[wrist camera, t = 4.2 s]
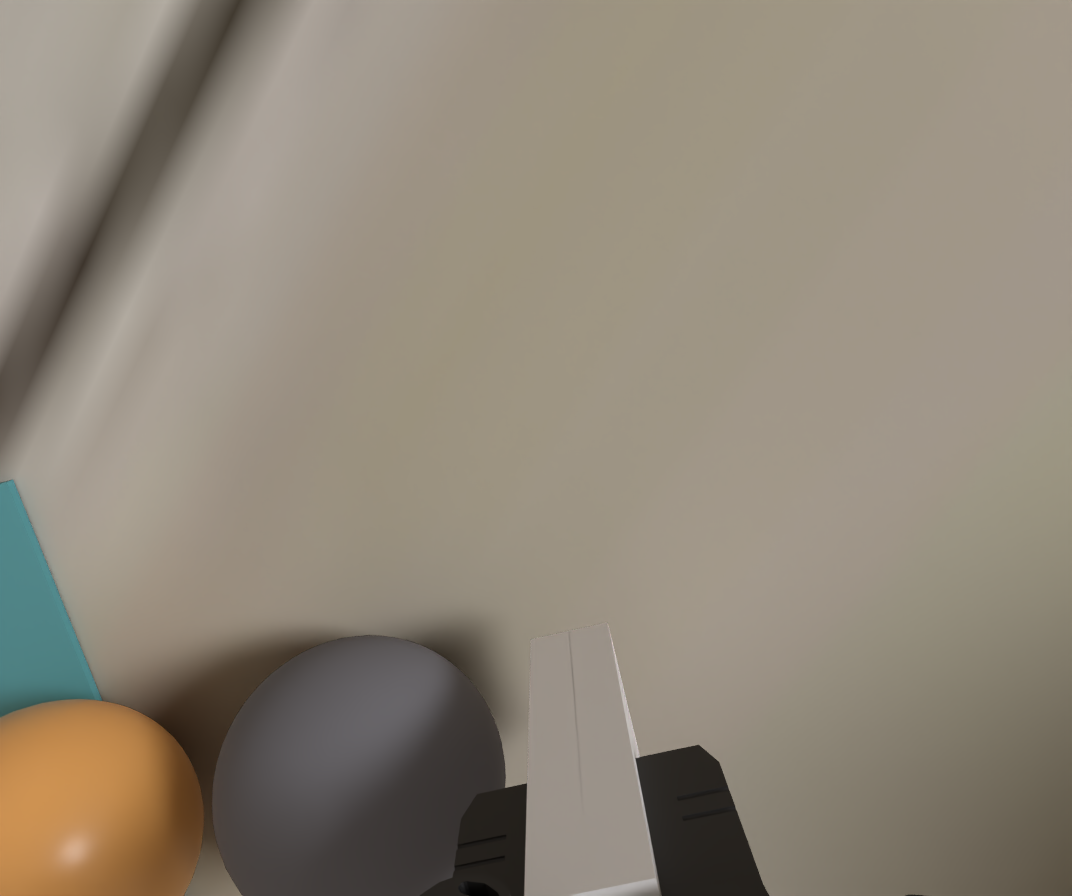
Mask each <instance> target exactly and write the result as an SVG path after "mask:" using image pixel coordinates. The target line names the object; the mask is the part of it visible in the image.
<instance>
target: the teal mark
mask: <svg viewBox="0 0 1072 896" xmlns="http://www.w3.org/2000/svg"><path fill="white" fill-rule="evenodd" d="M67 699H89V700H99V701H102V699H101V696H100V694H99V691H98V689H97V687H96V684H95V682H94V679H93V677H92V674H91V672H90V669H89V667H88V664H87V662H86V659H85V657H84V654H83V652H82V649H81V647H80V644H79V642H78V640H77V637H76V635H75V632H74V630H73V627H72V625H71V622H70V620H69V617H68V615H67V612H66V610H65V607H64V605H63V602H62V600H61V597H60V595H59V593H58V590H57V588H56V585H55V583H54V580H53V578H52V575H51V573H50V570H49V568H48V565H47V563H46V560H45V558H44V555H43V553H42V550H41V548H40V546H39V543H38V541H37V538H36V536H35V533H34V531H33V528H32V526H31V523H30V521H29V518H28V516H27V513H26V511H25V508H24V506H23V503H22V501H21V498H20V496H19V494H18V491H17V489H16V486H15V484H14V481H13V480H10V481H6V482H2V483H0V717H2V716H5V715H7V714H9V713H11V712H13V711H17V710H20V709H23V708H26V707H30V706H33V705H37V704H40V703H45V702H51V701H57V700H67Z"/></svg>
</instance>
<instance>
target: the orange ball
mask: <svg viewBox="0 0 1072 896" xmlns="http://www.w3.org/2000/svg"><path fill="white" fill-rule="evenodd" d="M203 829H204V809H203V800H202V793H201V788H200V785H199V782H198V778H197V775H196V773H195V770H194V768H193V766H192V764H191V762H190V760H189V758H188V756H187V755H186V753H185V751H184V750H183V748H182V747H181V746H180V744H179V743H178V742H177V741H176V740H175V738H174V737H173V736H172V735H171V734H170V733H169V732H168V731H166V730H165V729H164V728H163V727H162V726H160V725H159V724H158V723H156V722H155V721H154V720H152V719H150V718H149V717H147V716H145V715H144V714H142V713H140V712H138V711H135V710H133V709H131V708H128V707H125V706H122V705H119V704H115V703H110V702H105V701H99V700H89V699H67V700H57V701H51V702H45V703H40V704H37V705H33V706H30V707H26V708H23V709H20V710H17V711H13V712H11V713H9V714H7V715H5V716H2V717H0V896H184V894H185V892H186V890H187V888H188V886H189V884H190V882H191V880H192V878H193V874H194V871H195V868H196V865H197V861H198V858H199V855H200V851H201V845H202V837H203Z"/></svg>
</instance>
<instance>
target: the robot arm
mask: <svg viewBox="0 0 1072 896" xmlns="http://www.w3.org/2000/svg"><path fill="white" fill-rule="evenodd" d="M457 846H458V849H457V850H456V857H455V864H454V867H455V871H453V877H452V878H449V879H447V880H444V881H441V882H439V883H437V884H436V885H434V886H433V887H431V888H430V889H428V890H427V891H425V892H424V893H422V894H421V895H420V896H769V894H768V893H767V891H766V889H765V887H764V885H763V883H762V880H761V877H760V875H759V872H758V869H757V866H756V863H755V861H754V858H753V855H752V852H751V849H750V847H749V844H748V841H747V838H746V836H745V833H744V830H743V827H742V824H741V822H740V819H739V816H738V813H737V810H736V809H735V805H734V802H733V799H732V796H731V794H730V791H729V789H728V785H727V783H726V780H725V777H724V774H723V771H722V769H721V766H720V763H719V762H718V761H717V760H716V759H715V758H714V757H712V756H711V755H710V754H709V753H708V752H707V751H705V750H704V749H703V748H702V747H701V746H699V745H695V746H691V747H686V748H681V749H676V750H672V751H667V752H662V753H657V754H653V755H648V756H643V757H640V756H639V751H638V746H637V742H636V738H635V734H634V730H633V725H632V721H631V717H630V713H629V709H628V705H627V700H626V696H625V692H624V688H623V684H622V680H621V675H620V671H619V667H618V663H617V659H616V655H615V650H614V646H613V642H612V638H611V634H610V630H609V625H608V622H606V623H602V624H597V625H593V626H588V627H584V628H579V629H574V630H570V631H565V632H561V633H556V634H552V635H547V636H543V637H538V638H534V639H531V652H530V691H529V730H528V769H527V784H522V785H517V786H513V787H508V788H503V789H499V790H494V791H489V792H484V793H480V794H477V795H476V796H475V798H474V799H473V801H472V802H471V804H470V806H469V807H468V809H467V810H466V812H465V813H464V815H463V816H462V818H461V822H460V829H459V836H458V843H457ZM906 896H922V895H906Z"/></svg>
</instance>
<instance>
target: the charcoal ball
mask: <svg viewBox="0 0 1072 896" xmlns="http://www.w3.org/2000/svg"><path fill="white" fill-rule="evenodd" d="M505 779H506V775H505V761H504V755H503V749H502V743H501V739H500V735H499V731H498V729H497V726H496V724H495V721H494V719H493V716H492V714H491V712H490V709H489V707H488V706H487V704H486V702H485V700H484V699H483V697H482V696H481V694H480V693H479V691H478V690H477V689H476V687H475V686H474V685H473V684H472V682H471V681H470V680H469V678H468V677H466V676H465V675H464V674H463V673H462V672H461V671H460V670H459V669H458V668H457V667H456V666H454V665H453V664H452V663H451V662H450V661H448V660H447V659H445V658H444V657H442V656H440V655H439V654H437V653H435V652H434V651H432V650H430V649H428V648H426V647H424V646H421V645H419V644H416V643H413V642H410V641H407V640H403V639H399V638H394V637H387V636H372V635H366V636H355V637H347V638H341V639H337V640H334V641H330V642H327V643H324V644H321V645H318V646H316V647H313V648H311V649H309V650H306V651H304V652H302V653H301V654H299V655H297V656H296V657H294V658H292V659H291V660H289V661H288V662H286V663H285V664H283V665H282V666H281V667H279V668H278V669H277V670H275V671H274V672H273V673H272V674H270V675H269V676H268V677H267V678H266V679H265V680H264V681H263V682H262V683H261V684H260V685H259V686H258V687H257V688H256V689H255V691H254V692H253V693H252V694H251V695H250V697H249V698H248V699H247V700H246V702H245V703H244V705H243V706H242V708H241V709H240V711H239V712H238V714H237V715H236V717H235V719H234V721H233V723H232V725H231V726H230V728H229V730H228V732H227V735H226V737H225V740H224V742H223V745H222V747H221V750H220V754H219V757H218V760H217V764H216V769H215V775H214V780H213V793H212V814H213V827H214V832H215V836H216V841H217V845H218V848H219V851H220V854H221V857H222V859H223V862H224V865H225V868H226V870H227V871H228V873H229V875H230V877H231V878H232V880H233V882H234V883H235V885H236V887H237V888H238V890H239V891H240V893H241V894H242V895H243V896H420V895H421V894H422V893H424V892H425V891H427V890H428V889H430V888H431V887H433V886H434V885H436V884H437V883H439V882H441V881H444V880H447V879H449V878H452V877H453V871H455V867H454V864H455V857H456V850H457V849H458V846H457V843H458V836H459V829H460V822H461V818H462V816H463V815H464V813H465V812H466V810H467V809H468V807H469V806H470V804H471V802H472V801H473V799H474V798H475V796H476V795H477V794H480V793H484V792H489V791H494V790H499V789H503V788H505Z"/></svg>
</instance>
